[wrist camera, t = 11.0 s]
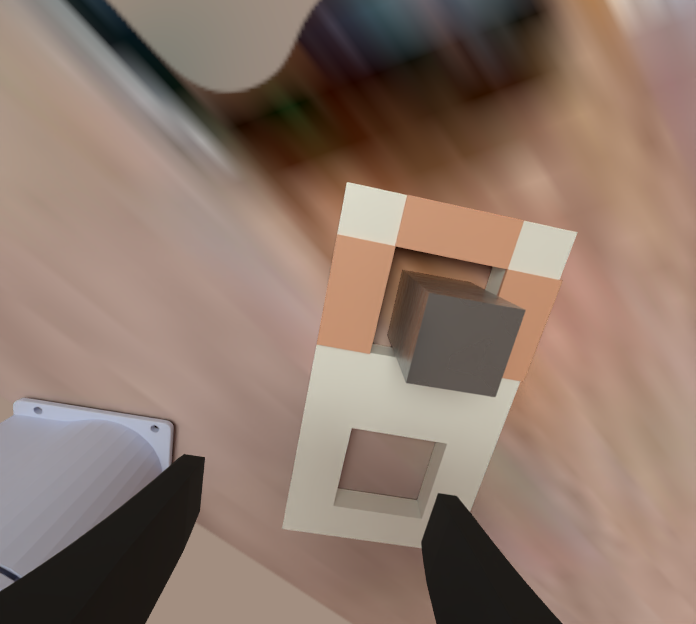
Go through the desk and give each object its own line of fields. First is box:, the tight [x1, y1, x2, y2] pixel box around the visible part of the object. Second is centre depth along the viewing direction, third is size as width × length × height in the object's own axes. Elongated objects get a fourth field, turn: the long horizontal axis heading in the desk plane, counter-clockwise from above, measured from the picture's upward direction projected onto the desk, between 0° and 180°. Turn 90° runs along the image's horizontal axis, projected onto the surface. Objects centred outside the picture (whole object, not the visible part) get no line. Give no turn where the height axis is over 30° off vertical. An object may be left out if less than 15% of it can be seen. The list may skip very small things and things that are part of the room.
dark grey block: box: [387, 270, 526, 397], centre depth 16 cm, size 4×4×6 cm
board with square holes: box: [282, 182, 577, 548], centre depth 20 cm, size 12×22×2 cm, turn 169°
